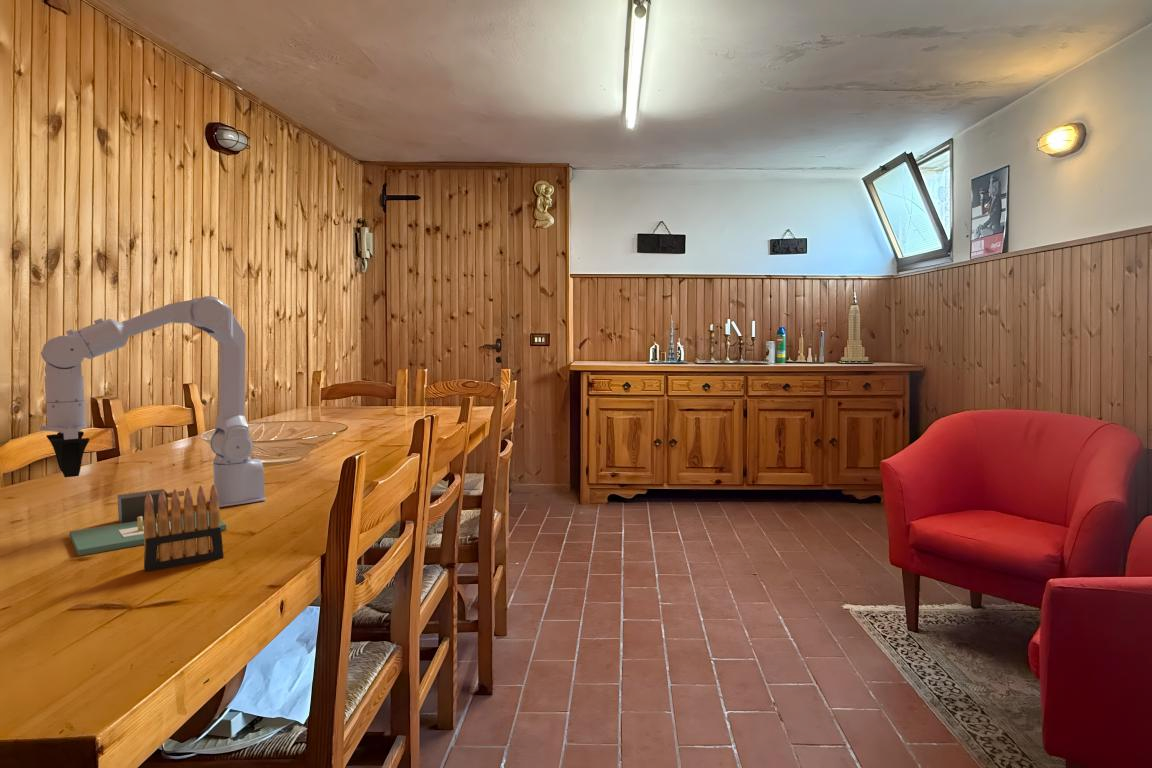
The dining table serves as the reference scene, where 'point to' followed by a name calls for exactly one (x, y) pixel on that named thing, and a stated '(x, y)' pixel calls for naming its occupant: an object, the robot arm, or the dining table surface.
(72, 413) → the robot arm
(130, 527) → the board
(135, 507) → the block
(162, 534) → the ammunition clip
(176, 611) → the dining table surface
